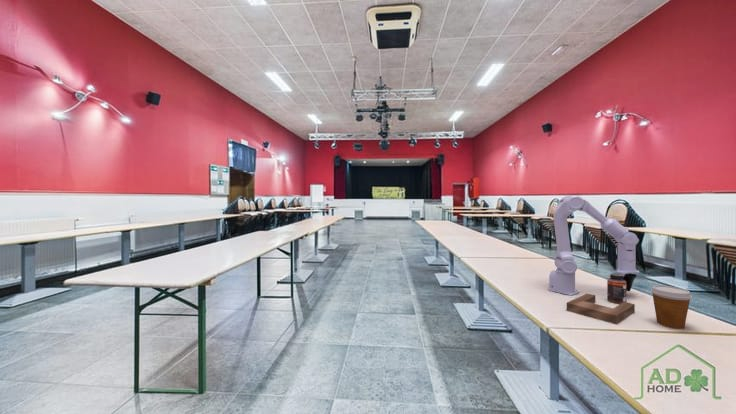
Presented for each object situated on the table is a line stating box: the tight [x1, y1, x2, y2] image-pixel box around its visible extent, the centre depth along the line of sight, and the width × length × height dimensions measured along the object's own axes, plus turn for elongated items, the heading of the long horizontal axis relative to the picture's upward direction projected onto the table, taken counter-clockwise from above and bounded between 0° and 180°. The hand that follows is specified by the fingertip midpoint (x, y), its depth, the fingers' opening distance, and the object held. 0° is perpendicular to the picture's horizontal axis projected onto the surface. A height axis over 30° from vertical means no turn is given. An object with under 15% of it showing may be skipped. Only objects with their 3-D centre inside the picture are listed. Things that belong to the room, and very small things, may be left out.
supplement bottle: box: [606, 272, 628, 305], centre depth 115 cm, size 6×6×11 cm
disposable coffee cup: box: [650, 284, 693, 330], centre depth 94 cm, size 10×10×12 cm
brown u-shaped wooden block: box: [566, 293, 636, 325], centre depth 106 cm, size 15×18×3 cm
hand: (626, 290), depth 121 cm, fingers closed
